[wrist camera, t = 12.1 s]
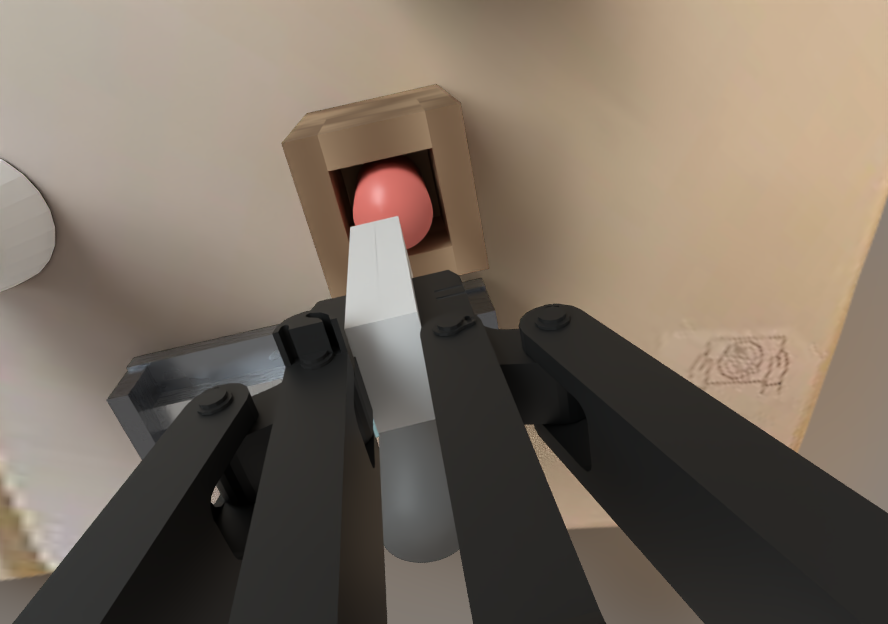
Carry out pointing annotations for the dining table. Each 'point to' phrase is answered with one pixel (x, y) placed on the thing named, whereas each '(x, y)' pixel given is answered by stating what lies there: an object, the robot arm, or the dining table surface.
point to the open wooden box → (378, 137)
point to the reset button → (394, 196)
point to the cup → (22, 228)
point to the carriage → (415, 494)
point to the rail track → (214, 374)
